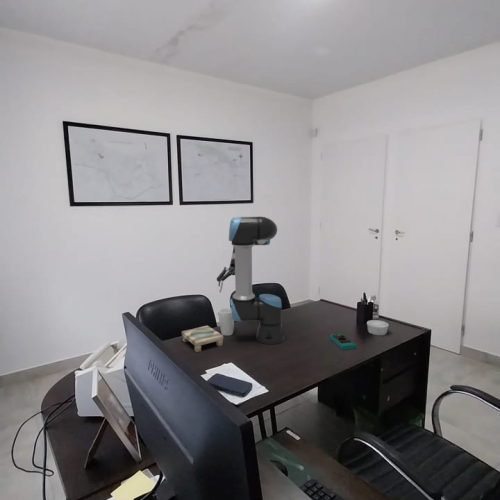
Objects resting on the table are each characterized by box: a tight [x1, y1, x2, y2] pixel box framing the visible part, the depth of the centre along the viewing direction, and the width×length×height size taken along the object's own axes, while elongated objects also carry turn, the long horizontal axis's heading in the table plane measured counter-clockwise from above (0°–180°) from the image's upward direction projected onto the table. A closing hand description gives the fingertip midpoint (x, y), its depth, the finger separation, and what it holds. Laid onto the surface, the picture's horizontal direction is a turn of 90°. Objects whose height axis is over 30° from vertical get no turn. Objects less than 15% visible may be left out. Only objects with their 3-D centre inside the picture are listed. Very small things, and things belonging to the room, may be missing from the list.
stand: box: [181, 325, 224, 353], centre depth 174 cm, size 18×15×5 cm
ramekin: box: [366, 319, 390, 336], centre depth 185 cm, size 11×11×5 cm
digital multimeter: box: [329, 333, 357, 350], centre depth 171 cm, size 7×15×3 cm, turn 11°
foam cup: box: [217, 307, 235, 336], centre depth 186 cm, size 10×9×13 cm
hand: (231, 291), depth 195 cm, fingers open, 13 cm apart
